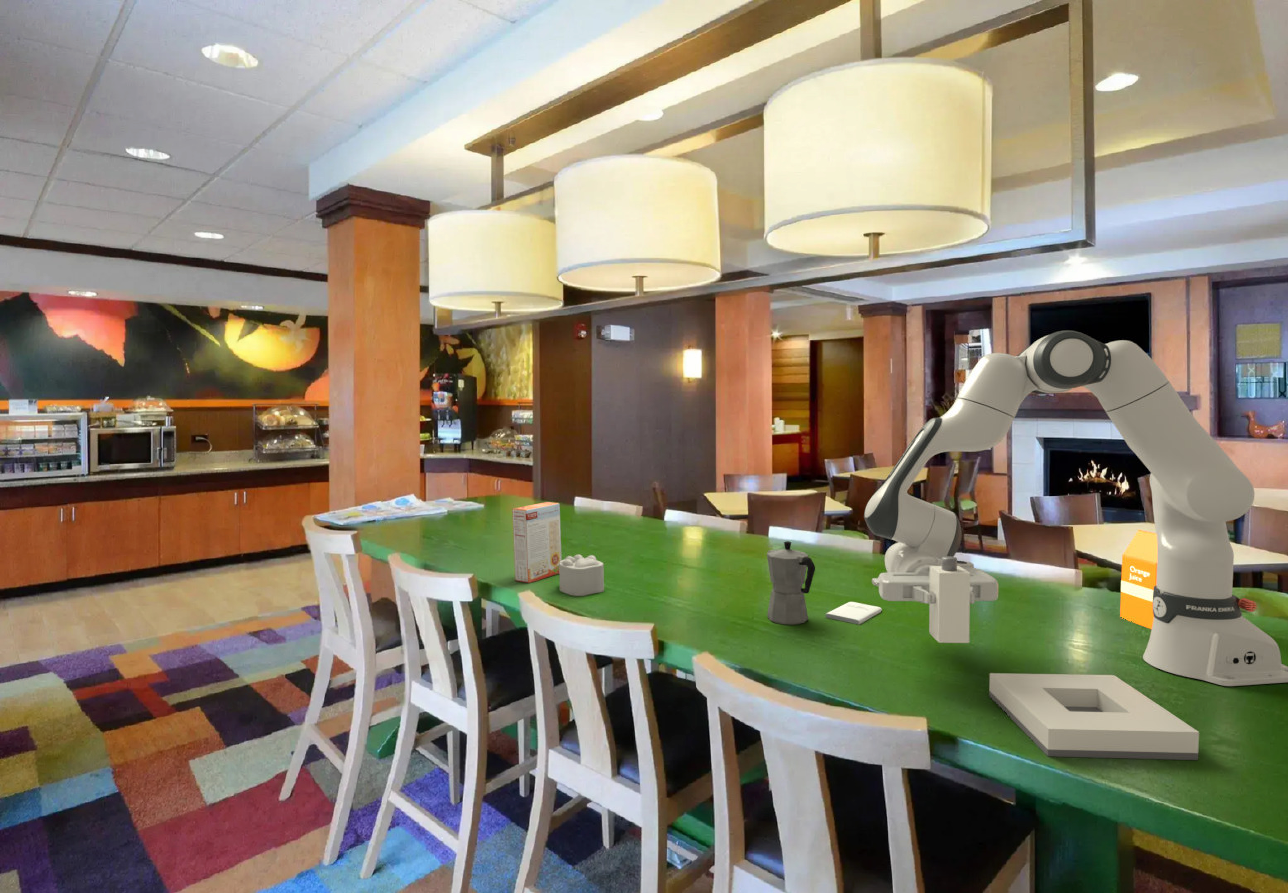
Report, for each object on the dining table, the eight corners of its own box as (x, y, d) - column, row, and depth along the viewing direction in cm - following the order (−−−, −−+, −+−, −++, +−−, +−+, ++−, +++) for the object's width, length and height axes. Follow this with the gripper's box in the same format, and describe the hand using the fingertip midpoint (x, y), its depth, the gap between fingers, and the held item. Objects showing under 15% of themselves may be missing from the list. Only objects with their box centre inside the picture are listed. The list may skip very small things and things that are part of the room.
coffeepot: (753, 614, 165) (753, 538, 164) (784, 608, 170) (784, 534, 169) (797, 633, 152) (797, 550, 151) (830, 625, 156) (830, 546, 155)
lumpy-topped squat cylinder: (575, 597, 182) (574, 564, 181) (550, 587, 192) (550, 555, 191) (609, 590, 188) (608, 558, 187) (583, 580, 198) (582, 550, 198)
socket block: (1113, 698, 117) (1114, 675, 117) (1197, 760, 98) (1199, 732, 97) (989, 696, 119) (989, 673, 119) (1047, 756, 99) (1048, 728, 99)
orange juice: (1153, 630, 151) (1156, 537, 149) (1119, 617, 160) (1122, 530, 158) (1184, 627, 152) (1188, 536, 151) (1149, 615, 161) (1152, 528, 159)
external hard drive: (825, 619, 162) (849, 607, 172) (859, 627, 157) (881, 613, 166) (825, 613, 162) (849, 600, 172) (859, 620, 157) (881, 606, 166)
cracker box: (547, 570, 210) (546, 501, 209) (562, 573, 207) (561, 502, 205) (513, 580, 199) (511, 507, 198) (528, 583, 195) (526, 509, 194)
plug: (958, 633, 124) (959, 554, 123) (969, 642, 119) (970, 561, 118) (929, 632, 124) (929, 554, 123) (938, 642, 119) (939, 561, 118)
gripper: (869, 562, 135) (888, 581, 121) (979, 561, 133) (1012, 580, 119) (869, 594, 135) (888, 617, 121) (979, 594, 134) (1011, 617, 120)
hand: (951, 599), depth 120 cm, fingers closed on plug, 5 cm apart
